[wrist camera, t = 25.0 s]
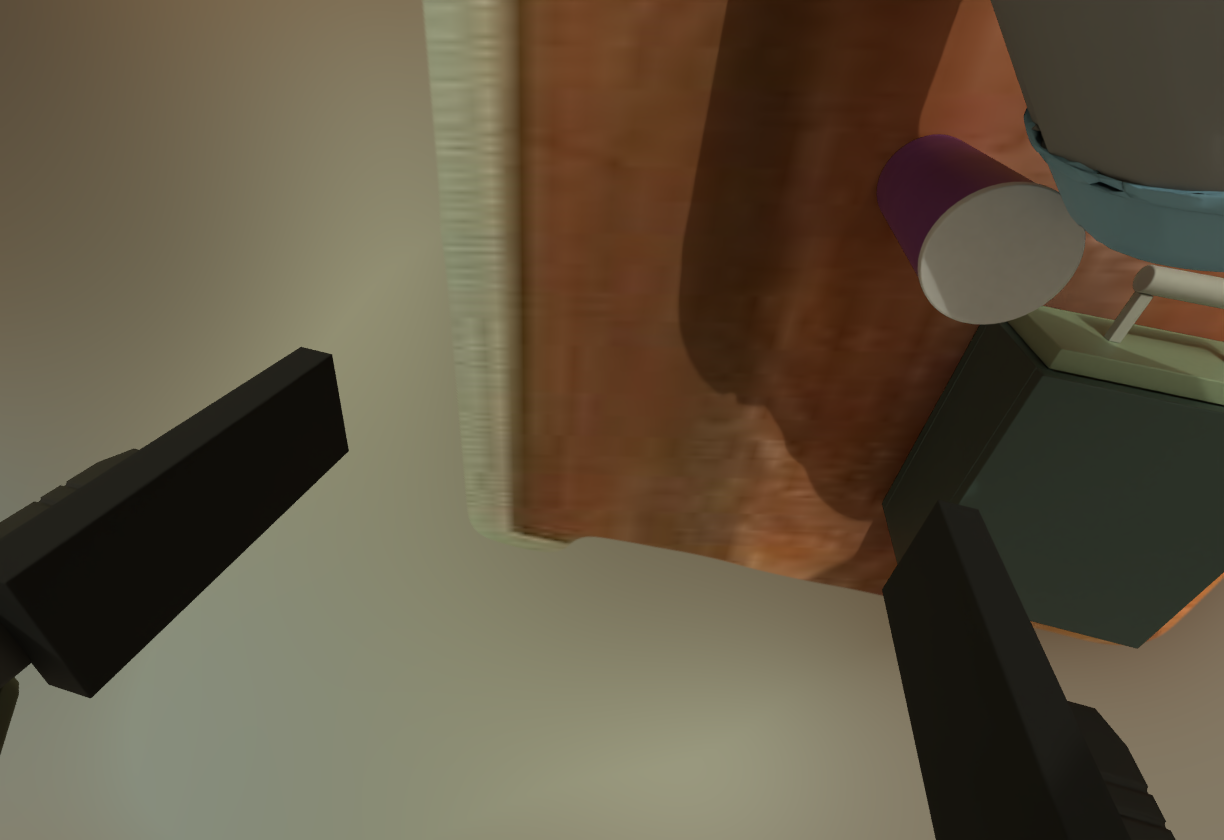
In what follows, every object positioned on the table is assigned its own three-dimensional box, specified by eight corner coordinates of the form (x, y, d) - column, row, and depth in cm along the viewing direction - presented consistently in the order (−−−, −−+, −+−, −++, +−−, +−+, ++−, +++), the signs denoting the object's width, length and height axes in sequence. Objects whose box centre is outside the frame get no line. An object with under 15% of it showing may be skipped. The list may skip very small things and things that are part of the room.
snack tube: (897, 124, 32) (959, 171, 20) (998, 141, 31) (1121, 200, 20) (860, 221, 35) (897, 308, 24) (951, 239, 34) (1034, 338, 23)
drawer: (1051, 231, 32) (1112, 270, 26) (1317, 281, 30) (1443, 333, 25) (904, 490, 43) (925, 556, 38) (1093, 535, 42) (1144, 611, 36)
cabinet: (987, 310, 36) (1043, 375, 29) (1242, 361, 34) (1369, 444, 27) (881, 503, 45) (903, 588, 38) (1076, 550, 44) (1138, 649, 36)
